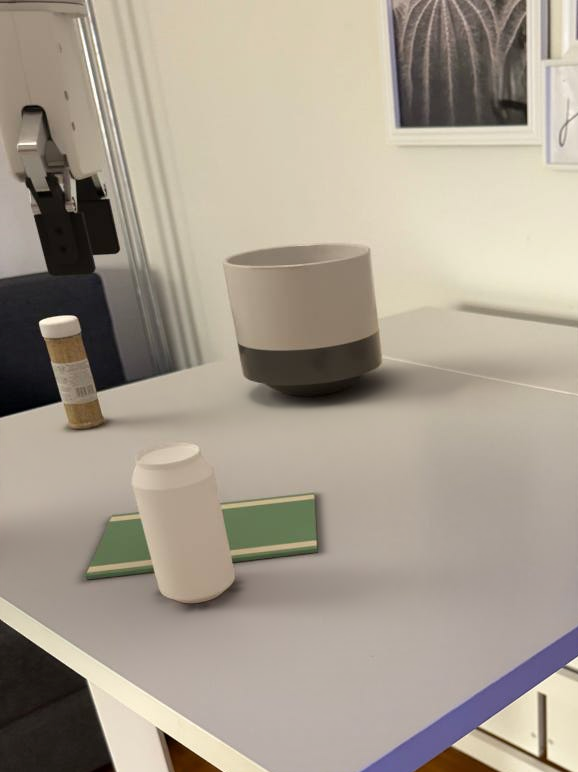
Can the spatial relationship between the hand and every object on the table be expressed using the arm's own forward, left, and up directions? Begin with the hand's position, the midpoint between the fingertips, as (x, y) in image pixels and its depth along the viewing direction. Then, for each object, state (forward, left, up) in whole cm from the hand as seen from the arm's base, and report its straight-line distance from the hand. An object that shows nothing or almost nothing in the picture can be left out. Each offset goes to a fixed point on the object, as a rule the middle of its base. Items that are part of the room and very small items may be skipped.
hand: (87, 263), depth 71 cm
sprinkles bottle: (-15, +47, -25) cm, 55 cm away
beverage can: (+4, -7, -25) cm, 27 cm away
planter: (+15, +54, -25) cm, 61 cm away
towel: (+4, +5, -25) cm, 26 cm away
